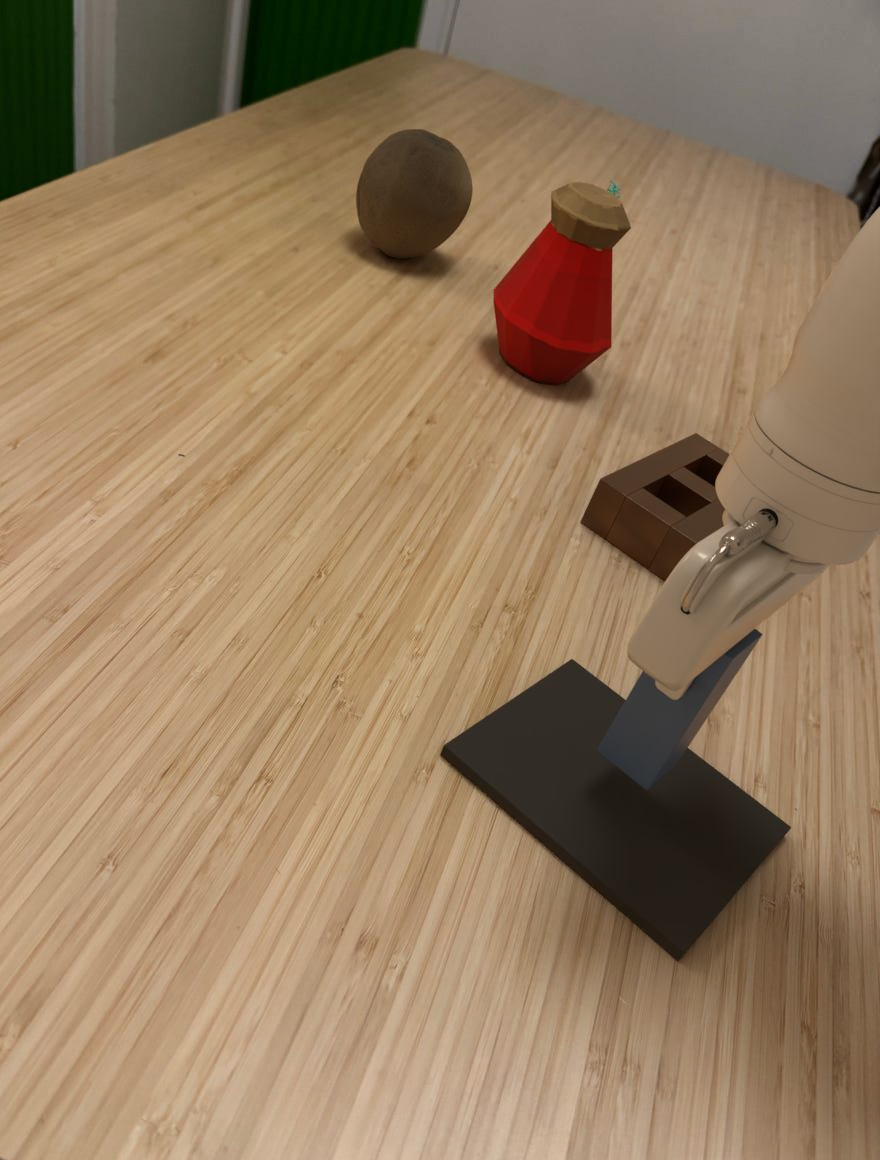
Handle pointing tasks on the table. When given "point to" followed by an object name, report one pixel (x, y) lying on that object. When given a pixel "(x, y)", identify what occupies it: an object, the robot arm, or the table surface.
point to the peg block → (660, 504)
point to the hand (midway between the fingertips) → (691, 672)
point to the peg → (668, 718)
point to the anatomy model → (613, 189)
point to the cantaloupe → (413, 193)
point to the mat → (618, 808)
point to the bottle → (562, 288)
